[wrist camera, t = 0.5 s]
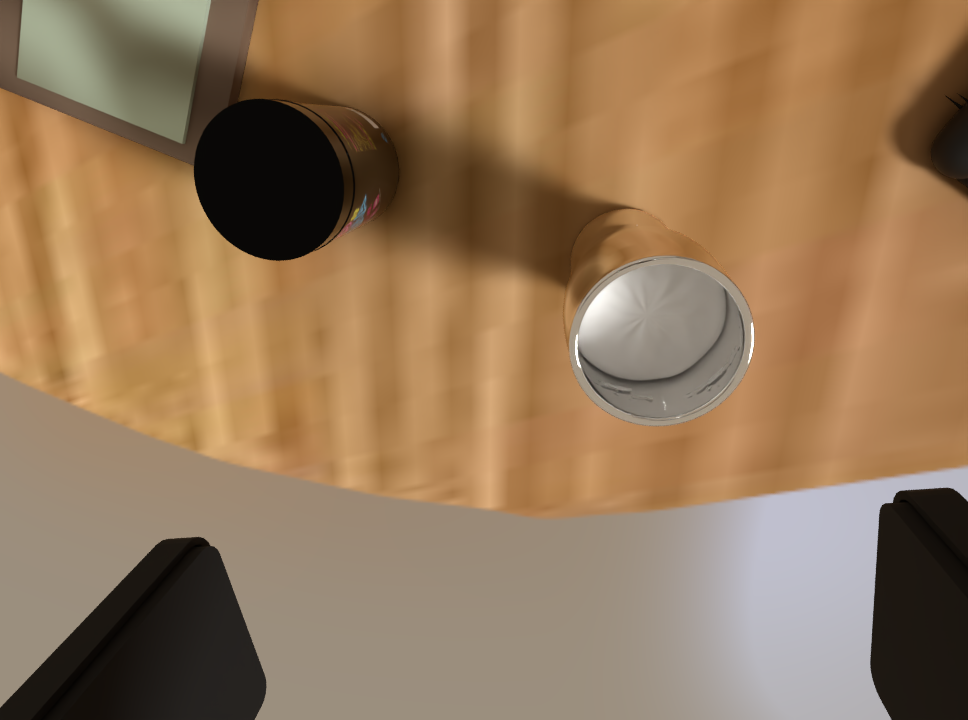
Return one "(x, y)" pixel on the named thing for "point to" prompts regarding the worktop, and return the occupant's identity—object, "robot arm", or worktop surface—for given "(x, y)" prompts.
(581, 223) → the worktop surface
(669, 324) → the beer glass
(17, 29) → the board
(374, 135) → the supplement container
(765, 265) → the worktop surface
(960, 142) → the door handle
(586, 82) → the worktop surface
